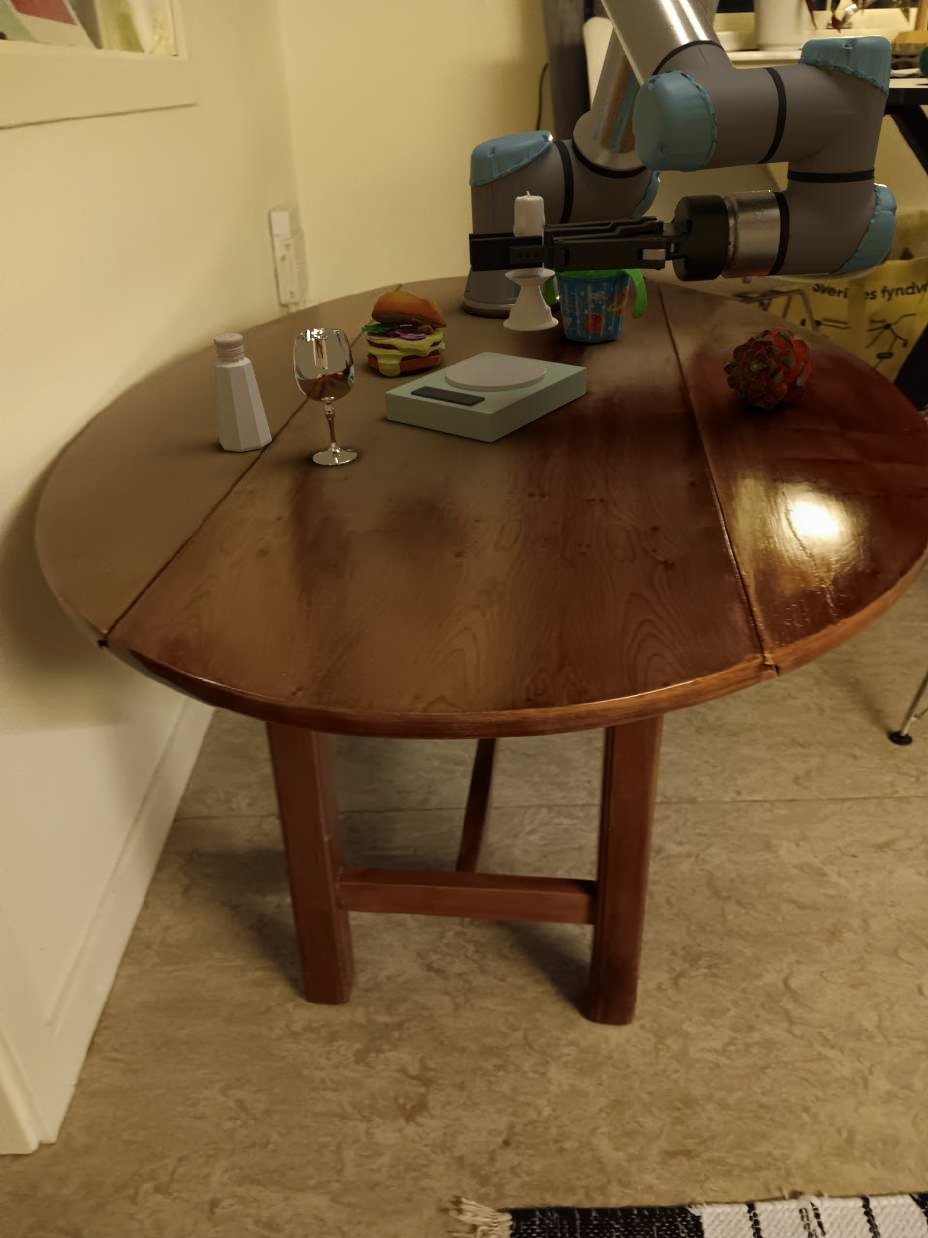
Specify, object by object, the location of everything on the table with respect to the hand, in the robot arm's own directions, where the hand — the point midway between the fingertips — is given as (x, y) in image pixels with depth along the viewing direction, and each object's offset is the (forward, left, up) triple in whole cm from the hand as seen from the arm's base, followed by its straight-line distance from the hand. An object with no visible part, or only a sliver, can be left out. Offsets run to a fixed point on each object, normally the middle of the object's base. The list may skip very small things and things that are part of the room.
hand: (471, 252), depth 89 cm
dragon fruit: (-24, +21, -18) cm, 36 cm away
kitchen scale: (-8, -4, -18) cm, 20 cm away
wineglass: (+12, -8, -18) cm, 23 cm away
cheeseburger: (-16, -23, -18) cm, 33 cm away
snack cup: (-38, -9, -18) cm, 43 cm away
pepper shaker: (+14, -19, -18) cm, 30 cm away
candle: (-4, +4, -7) cm, 9 cm away
